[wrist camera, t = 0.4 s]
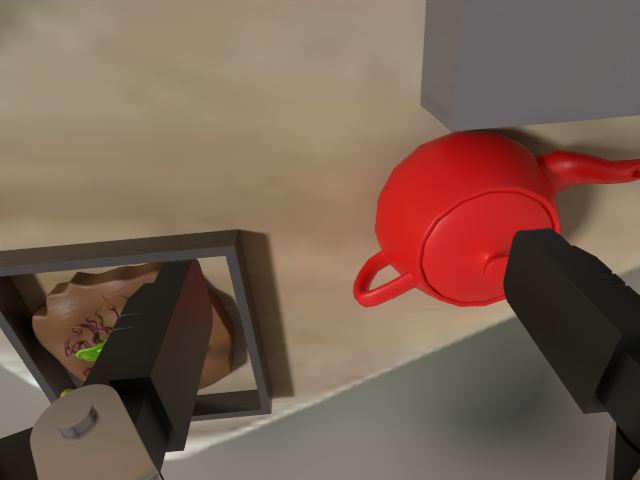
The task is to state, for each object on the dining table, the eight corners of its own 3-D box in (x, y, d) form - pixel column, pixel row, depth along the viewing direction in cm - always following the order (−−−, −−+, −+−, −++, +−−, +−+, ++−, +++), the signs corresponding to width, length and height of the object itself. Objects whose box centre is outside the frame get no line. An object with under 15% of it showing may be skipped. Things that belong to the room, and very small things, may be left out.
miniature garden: (262, 359, 50) (255, 446, 40) (127, 403, 52) (91, 494, 43) (176, 232, 40) (139, 307, 30) (14, 295, 42) (-67, 381, 33)
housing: (431, -91, 27) (478, -120, 20) (690, -112, 27) (822, -148, 21) (420, 104, 34) (452, 131, 27) (628, 86, 34) (711, 108, 27)
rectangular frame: (-16, 252, 39) (-38, 270, 36) (238, 229, 39) (234, 245, 37) (82, 411, 52) (71, 433, 50) (272, 393, 52) (271, 413, 50)
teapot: (381, 303, 45) (408, 394, 35) (304, 202, 38) (309, 279, 28) (602, 188, 39) (712, 257, 29) (559, 43, 32) (686, 65, 22)
